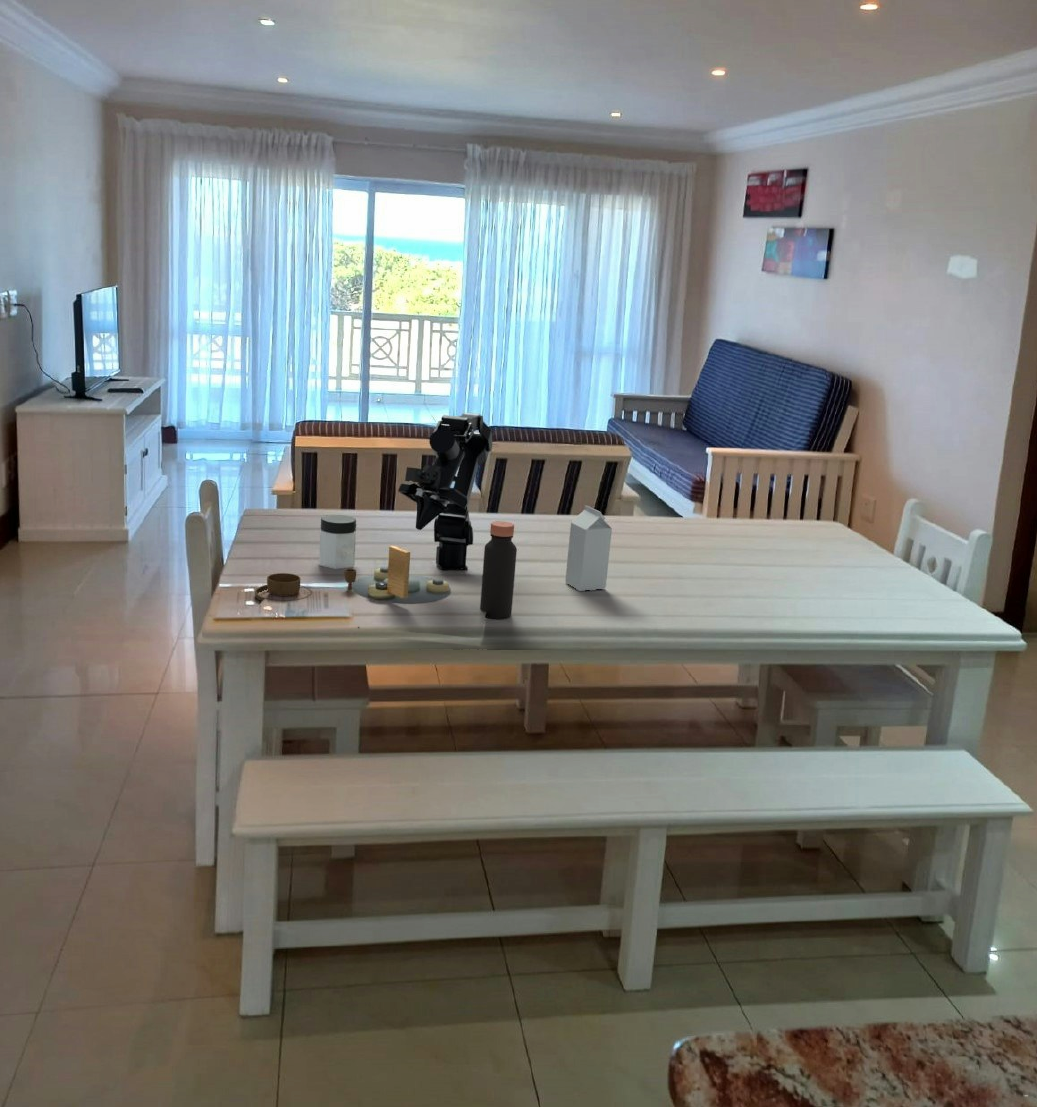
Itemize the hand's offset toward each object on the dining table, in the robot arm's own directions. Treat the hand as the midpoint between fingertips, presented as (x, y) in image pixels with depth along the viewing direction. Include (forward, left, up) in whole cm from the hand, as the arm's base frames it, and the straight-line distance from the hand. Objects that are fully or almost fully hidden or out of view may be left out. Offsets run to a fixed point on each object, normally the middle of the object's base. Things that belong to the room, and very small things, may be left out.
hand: (418, 529), depth 244 cm
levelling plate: (+4, +6, -13) cm, 15 cm away
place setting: (+27, +8, -14) cm, 31 cm away
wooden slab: (+9, +14, -12) cm, 20 cm away
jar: (+15, -14, -13) cm, 25 cm away
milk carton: (-41, +4, -13) cm, 43 cm away
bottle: (-13, +22, -13) cm, 28 cm away
